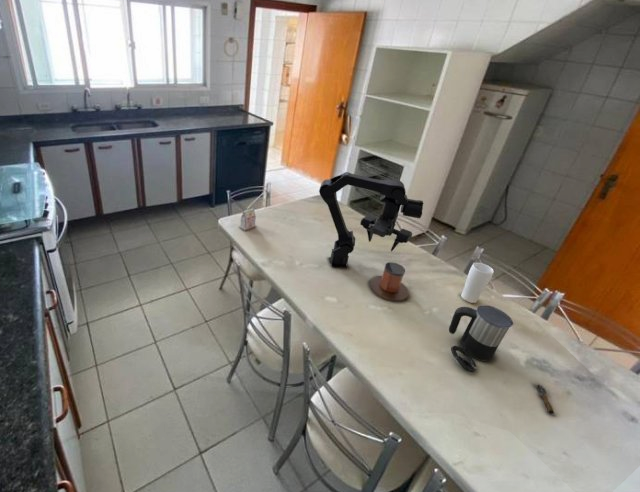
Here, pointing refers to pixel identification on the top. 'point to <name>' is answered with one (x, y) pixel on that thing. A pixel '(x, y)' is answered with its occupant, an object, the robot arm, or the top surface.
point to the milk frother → (479, 333)
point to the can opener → (545, 398)
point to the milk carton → (248, 219)
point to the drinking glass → (476, 282)
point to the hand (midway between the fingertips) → (380, 246)
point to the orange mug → (392, 277)
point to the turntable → (386, 295)
